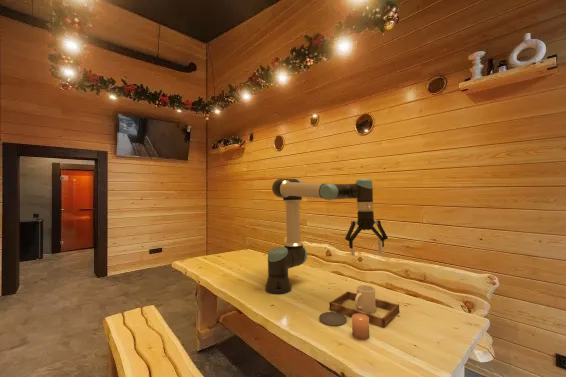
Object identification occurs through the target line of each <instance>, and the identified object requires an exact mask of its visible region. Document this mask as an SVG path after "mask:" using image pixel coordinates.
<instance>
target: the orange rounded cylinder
mask: <svg viewBox="0 0 566 377" xmlns="http://www.w3.org/2000/svg"><path fill="white" fill-rule="evenodd" d="M351 325H352V326H351V327H352V328H351V330H352V331H351V332H352V333H351V334H352V337H353V338H355V340H360V341H365V340H368V339H370V323H369V317H368V316H367V315H365V314H360V313H357V314H353V315H352V317H351Z"/></svg>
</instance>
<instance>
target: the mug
mask: <svg viewBox="0 0 566 377" xmlns="http://www.w3.org/2000/svg"><path fill="white" fill-rule="evenodd" d="M356 294H357V296H356V298H355V301H354V306H355V308H356V310H359V311H362V312H365V313H369V314H373V313H375V312H376V308H377V307H376V302H375V299H376V288H375V287H374V286H371V285H368V284H367V285H365V284H362V285H357V286H356Z"/></svg>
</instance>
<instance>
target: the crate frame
mask: <svg viewBox="0 0 566 377" xmlns="http://www.w3.org/2000/svg"><path fill="white" fill-rule="evenodd" d="M356 296H357V292H356V293H355V292H352V291H346V292H344V293H343V294H341V295H340V296H338V297H336V298H334V299H333V300H331V301H329V311H330V312H337V313H341V314H343V315H344V316H346V317H349V318H352V315H353V314H357V313H360V314H365V315H367V316H368V317H369V324H371V325H374V326H376V327H380V328H384V329H385V328H386V327H387V326H388V325H389V324H390V323H391V322H392V321H393V320H394V319H395V317H396V316H398V315H399V313H400V304H397V303H394V302H390V301H386V300H382V299H379V298H375V302H376V308H379V309H383V310H386V311H388V312H387V313H386V314H385V315H384V316H383V317H382V316H378V315H374V314H373V313H371V314H369V313H365V312H362V311H359V310H358V309H357V308H356V309H355V308H353V307H349V306H345V305H343V303H345V302H346V301H348V300H351V301H354V302H355V298H356Z"/></svg>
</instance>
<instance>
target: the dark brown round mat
mask: <svg viewBox="0 0 566 377" xmlns="http://www.w3.org/2000/svg"><path fill="white" fill-rule="evenodd" d="M318 320H319V322H320V323H321V324H322V325H325V326H328V327H341V326H343V325H345V324H347V322H348V319H347V316H346V315H343V314H341V313H337V312H334V311H325V312H322V313H321V314H319V316H318Z"/></svg>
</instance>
